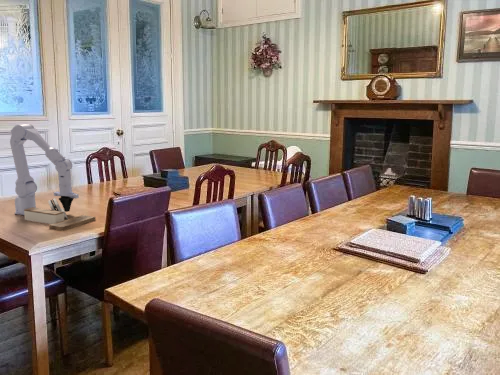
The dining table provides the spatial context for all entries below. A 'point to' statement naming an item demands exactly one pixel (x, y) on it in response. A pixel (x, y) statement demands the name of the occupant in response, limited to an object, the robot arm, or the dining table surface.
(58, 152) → the robot arm
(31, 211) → the cabinet
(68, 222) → the door leaf
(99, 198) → the dining table surface
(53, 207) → the hinge
